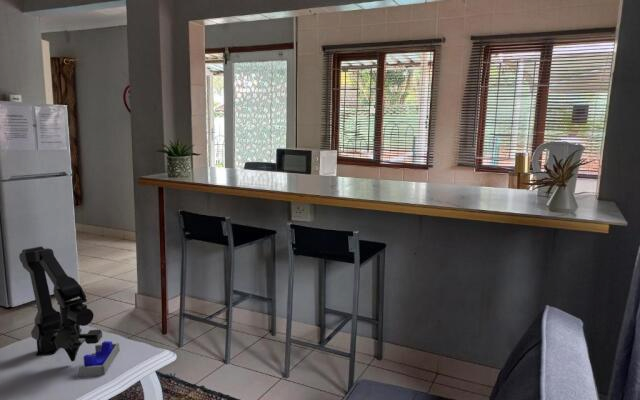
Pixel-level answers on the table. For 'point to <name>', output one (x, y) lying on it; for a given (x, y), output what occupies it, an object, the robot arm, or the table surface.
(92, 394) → the table surface
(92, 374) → the grey u-shaped bracket
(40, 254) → the robot arm
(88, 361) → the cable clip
